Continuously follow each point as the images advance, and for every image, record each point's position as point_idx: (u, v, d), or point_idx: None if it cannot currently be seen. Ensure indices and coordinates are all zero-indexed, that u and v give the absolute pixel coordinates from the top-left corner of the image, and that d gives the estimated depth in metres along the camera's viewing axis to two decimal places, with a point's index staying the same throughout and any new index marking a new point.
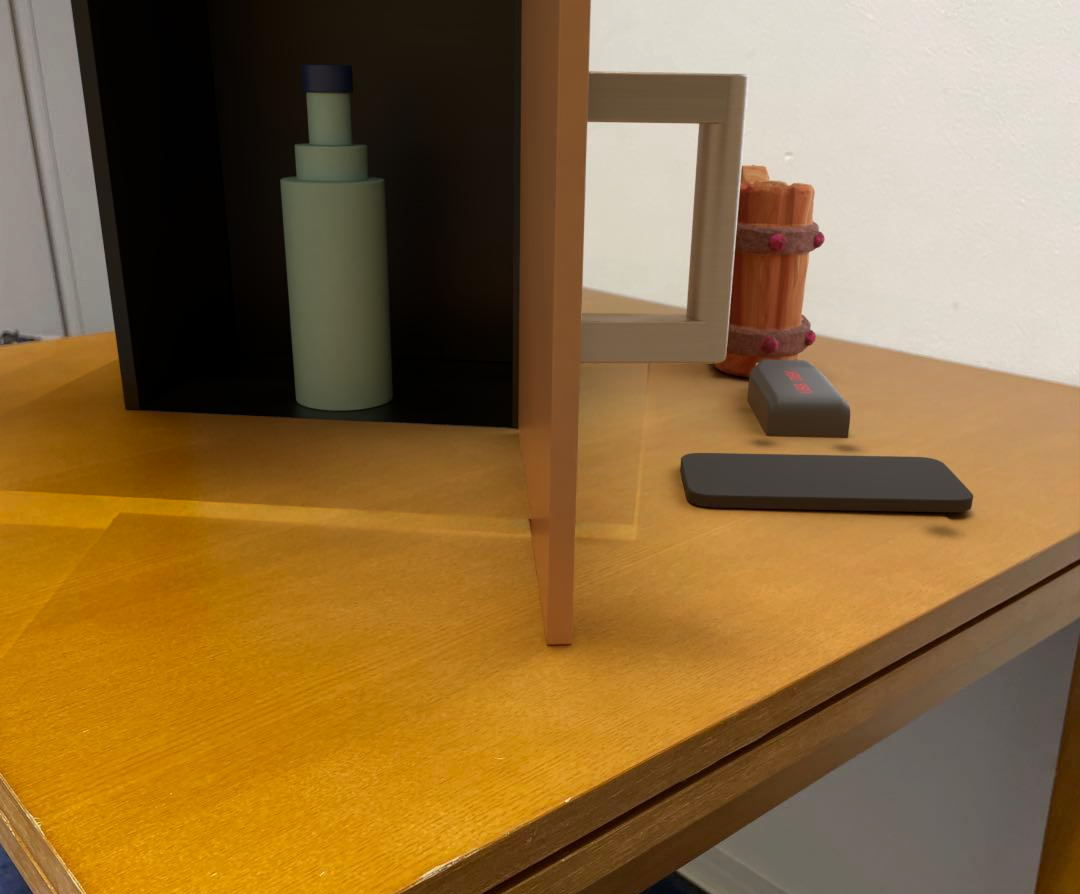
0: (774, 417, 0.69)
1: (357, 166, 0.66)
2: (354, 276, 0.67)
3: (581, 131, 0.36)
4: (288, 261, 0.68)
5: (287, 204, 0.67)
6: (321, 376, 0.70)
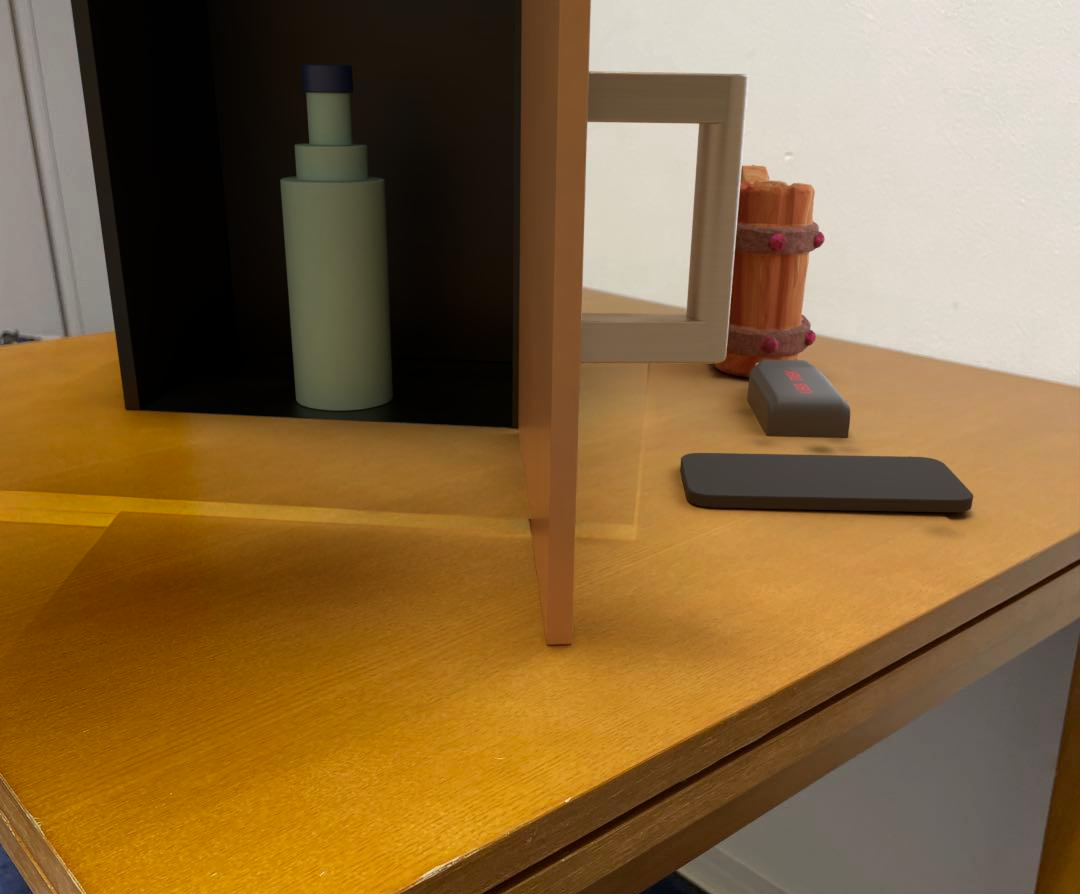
0: (774, 417, 0.69)
1: (357, 166, 0.66)
2: (354, 276, 0.67)
3: (581, 131, 0.36)
4: (288, 261, 0.68)
5: (287, 204, 0.67)
6: (321, 376, 0.70)
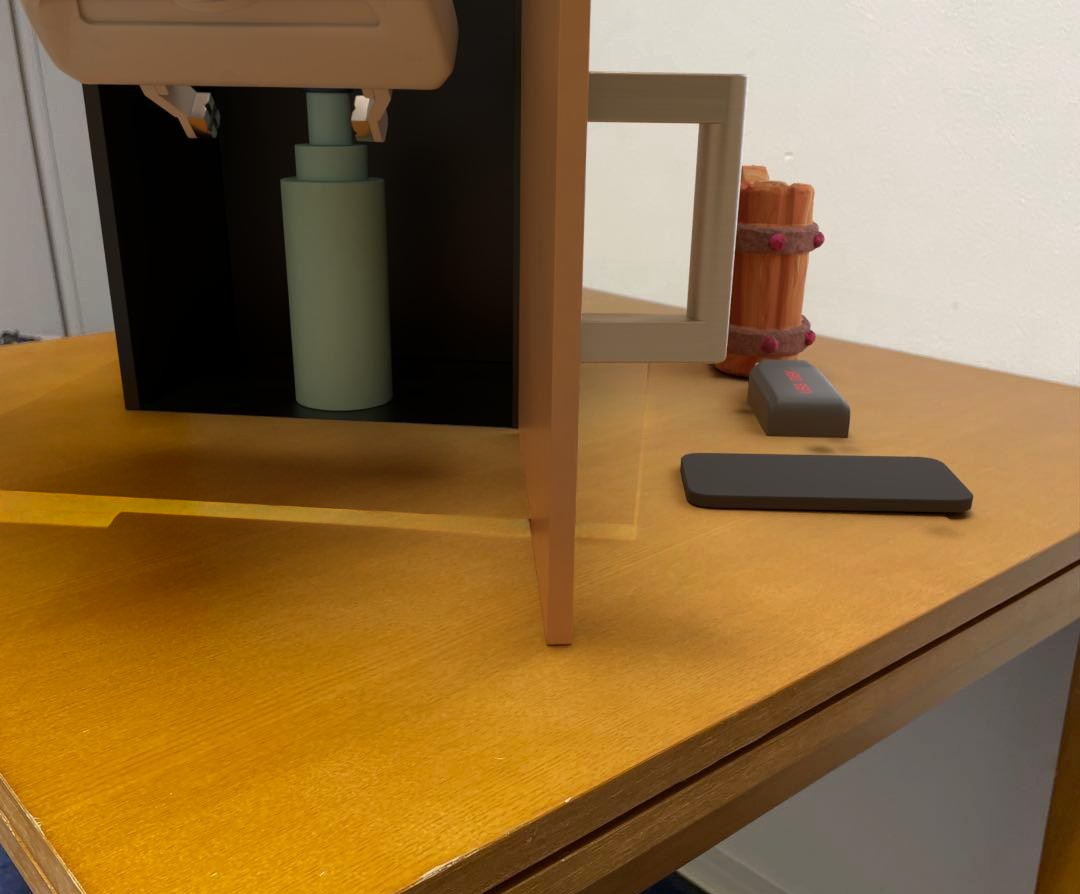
0: (774, 417, 0.69)
1: (357, 166, 0.66)
2: (354, 276, 0.67)
3: (581, 131, 0.36)
4: (288, 261, 0.68)
5: (287, 204, 0.67)
6: (321, 376, 0.70)
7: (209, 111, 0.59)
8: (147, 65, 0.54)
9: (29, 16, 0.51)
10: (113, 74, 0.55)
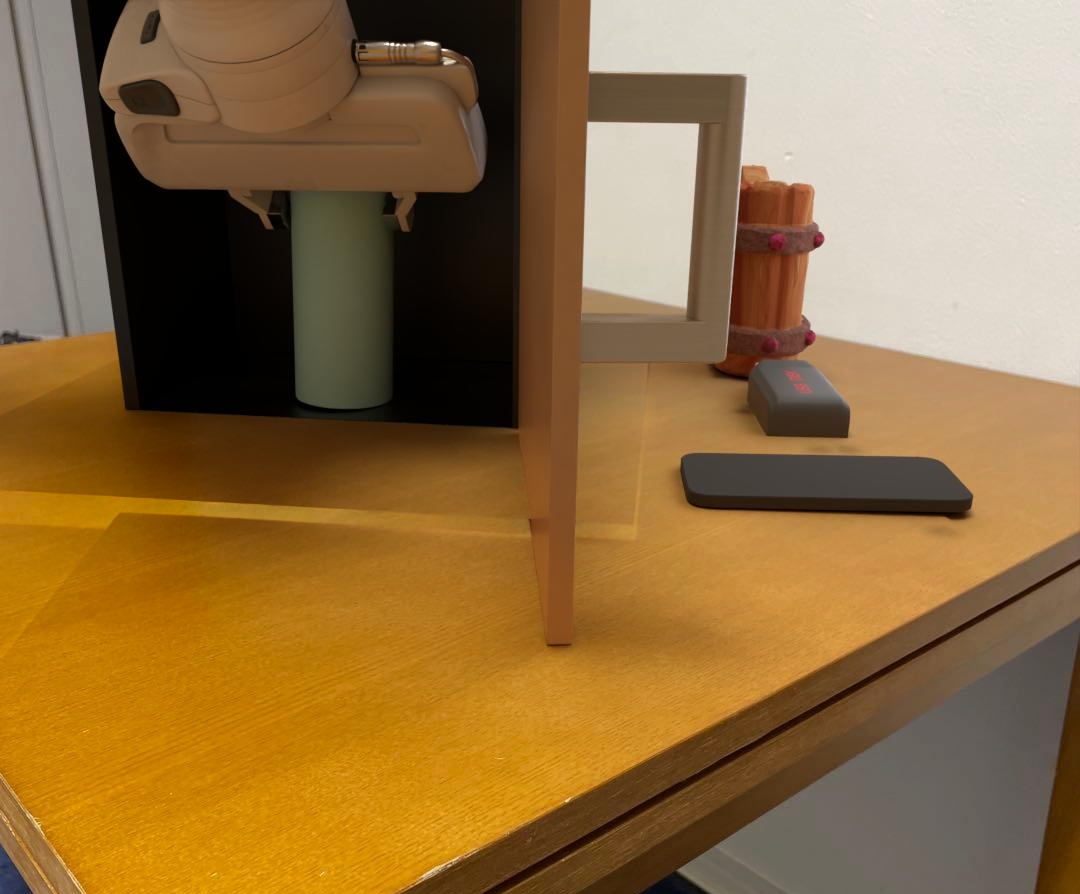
0: (774, 417, 0.69)
1: None
2: (360, 275, 0.67)
3: (581, 131, 0.36)
4: (294, 257, 0.68)
5: (296, 200, 0.67)
6: (322, 374, 0.70)
7: (285, 206, 0.68)
8: (221, 175, 0.63)
9: (123, 139, 0.60)
10: (191, 181, 0.63)
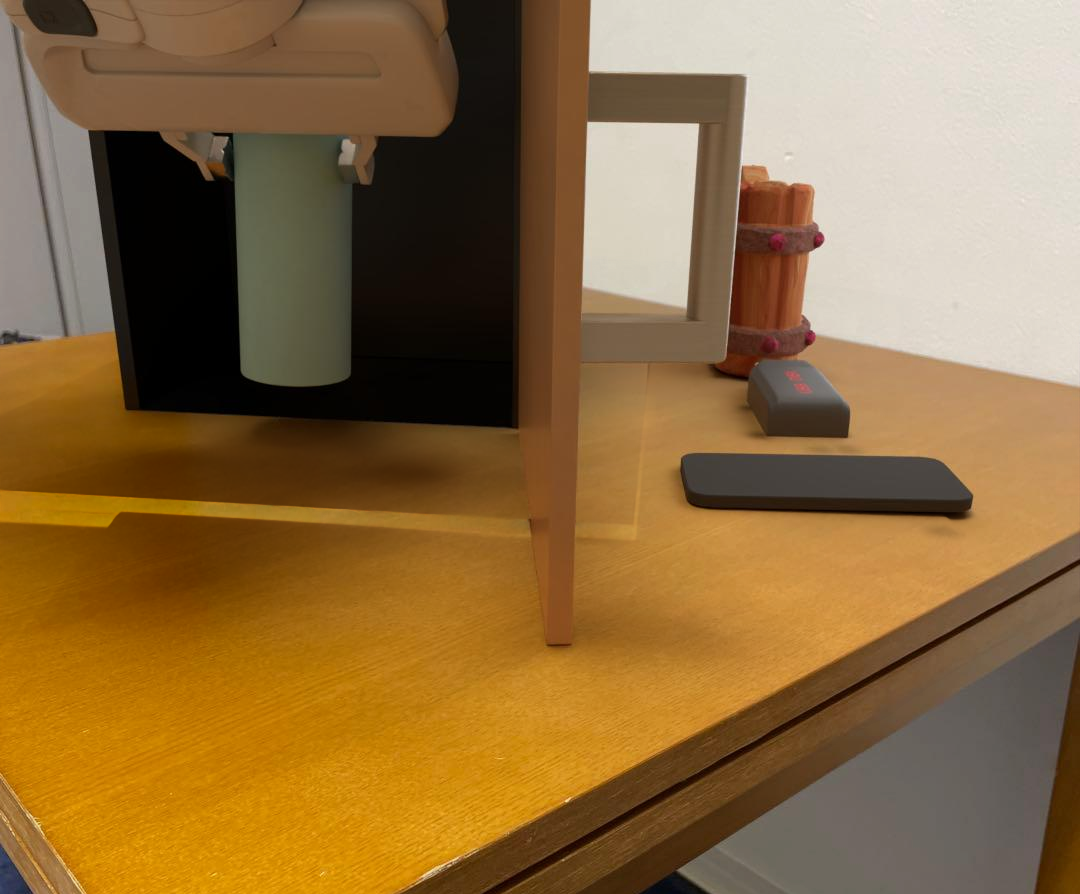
0: (774, 417, 0.69)
1: None
2: (312, 234, 0.59)
3: (581, 131, 0.36)
4: (238, 213, 0.60)
5: (239, 147, 0.58)
6: (270, 346, 0.61)
7: (227, 154, 0.59)
8: (150, 113, 0.54)
9: (34, 67, 0.52)
10: (117, 121, 0.55)
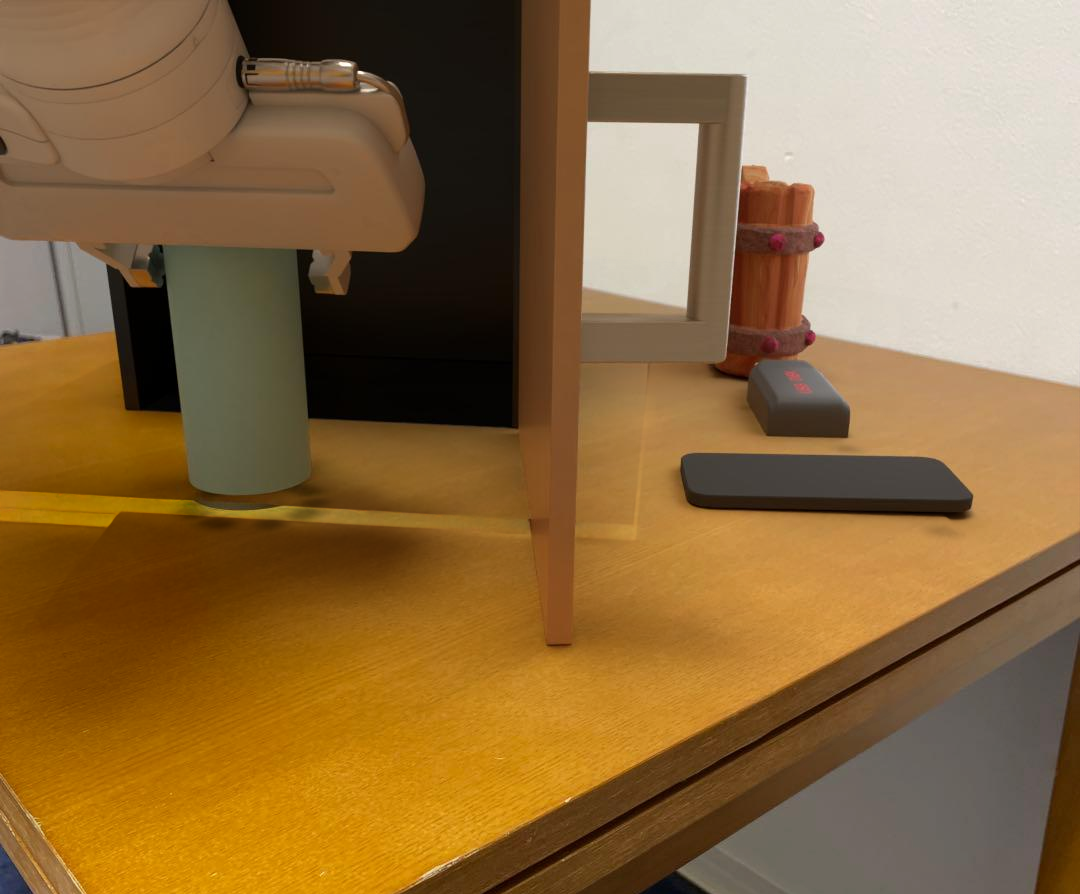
0: (774, 417, 0.69)
1: None
2: (255, 347, 0.53)
3: (581, 131, 0.36)
4: (173, 327, 0.54)
5: (168, 257, 0.53)
6: (218, 470, 0.56)
7: (153, 260, 0.54)
8: (79, 225, 0.48)
9: None
10: (42, 232, 0.49)
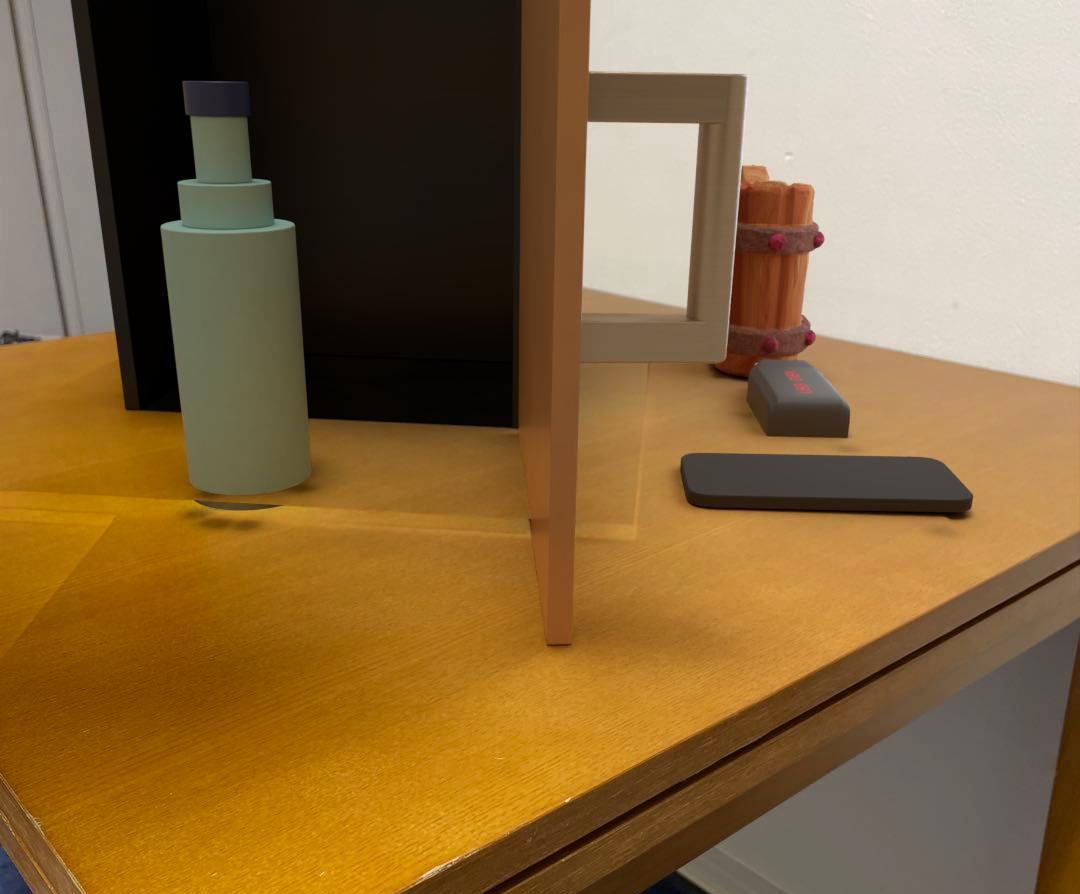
0: (774, 417, 0.69)
1: (257, 210, 0.52)
2: (256, 347, 0.53)
3: (581, 131, 0.36)
4: (173, 327, 0.54)
5: (169, 257, 0.53)
6: (218, 470, 0.56)
7: None
8: None
9: None
10: None
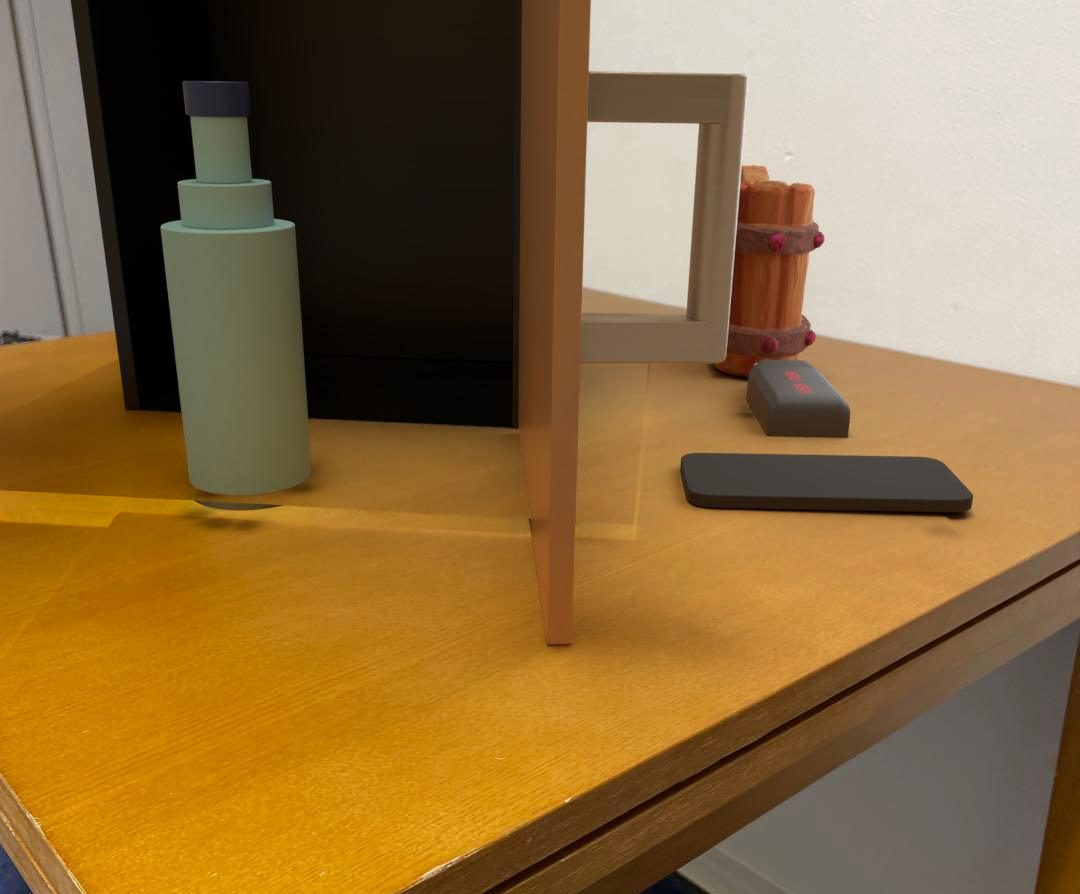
0: (774, 417, 0.69)
1: (257, 210, 0.52)
2: (256, 347, 0.53)
3: (581, 131, 0.36)
4: (173, 327, 0.54)
5: (169, 257, 0.53)
6: (218, 470, 0.56)
7: None
8: None
9: None
10: None
